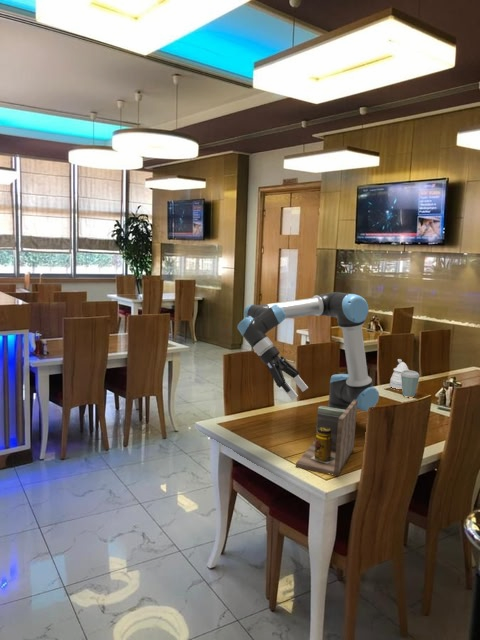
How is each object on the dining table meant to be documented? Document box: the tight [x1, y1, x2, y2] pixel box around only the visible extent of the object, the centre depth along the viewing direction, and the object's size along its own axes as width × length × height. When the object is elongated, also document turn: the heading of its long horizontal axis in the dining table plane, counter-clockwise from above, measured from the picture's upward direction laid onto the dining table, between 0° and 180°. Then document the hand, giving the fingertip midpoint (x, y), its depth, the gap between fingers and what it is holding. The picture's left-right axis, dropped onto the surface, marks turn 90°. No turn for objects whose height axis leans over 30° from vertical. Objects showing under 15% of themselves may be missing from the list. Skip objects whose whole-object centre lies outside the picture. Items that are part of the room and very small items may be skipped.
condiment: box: [311, 427, 335, 464], centre depth 191 cm, size 7×8×12 cm
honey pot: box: [389, 358, 409, 389], centre depth 310 cm, size 13×13×18 cm
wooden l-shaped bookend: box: [295, 400, 358, 476], centre depth 195 cm, size 28×16×22 cm, turn 156°
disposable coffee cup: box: [401, 369, 420, 397], centre depth 291 cm, size 11×11×15 cm
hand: (300, 393), depth 192 cm, fingers open, 13 cm apart
